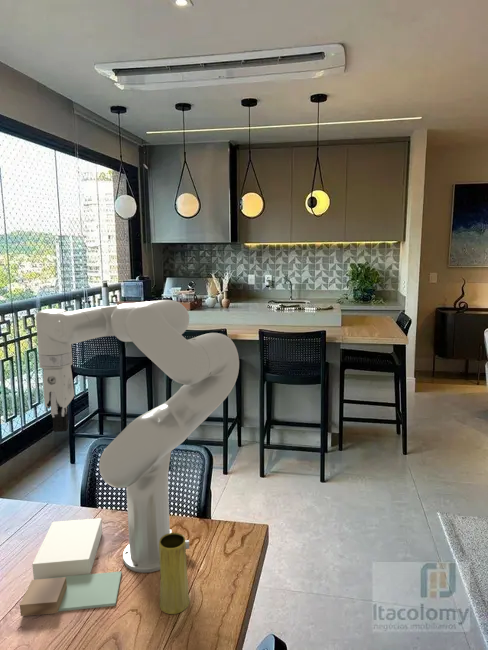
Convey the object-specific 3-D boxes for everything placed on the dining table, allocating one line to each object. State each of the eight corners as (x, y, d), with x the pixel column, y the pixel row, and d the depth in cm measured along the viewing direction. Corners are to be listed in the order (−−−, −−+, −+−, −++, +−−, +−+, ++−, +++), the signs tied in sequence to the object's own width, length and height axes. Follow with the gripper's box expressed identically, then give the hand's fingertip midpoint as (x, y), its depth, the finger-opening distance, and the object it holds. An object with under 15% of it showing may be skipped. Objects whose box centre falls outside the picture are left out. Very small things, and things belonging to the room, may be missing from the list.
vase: (164, 591, 98) (162, 530, 96) (192, 593, 98) (190, 532, 95) (155, 613, 92) (152, 548, 90) (185, 616, 92) (183, 551, 89)
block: (56, 601, 91) (57, 612, 92) (66, 577, 98) (66, 587, 99) (19, 604, 91) (20, 616, 91) (31, 579, 98) (32, 590, 98)
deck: (102, 532, 119) (101, 518, 118) (89, 575, 103) (88, 559, 103) (53, 536, 117) (52, 521, 117) (33, 580, 102) (32, 564, 101)
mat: (121, 573, 104) (121, 571, 104) (115, 605, 94) (115, 603, 94) (47, 580, 102) (47, 578, 102) (33, 614, 92) (33, 611, 92)
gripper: (64, 366, 106) (69, 441, 109) (78, 352, 121) (82, 418, 124) (30, 367, 105) (36, 443, 108) (48, 353, 120) (53, 420, 123)
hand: (61, 430), depth 116 cm, fingers closed
